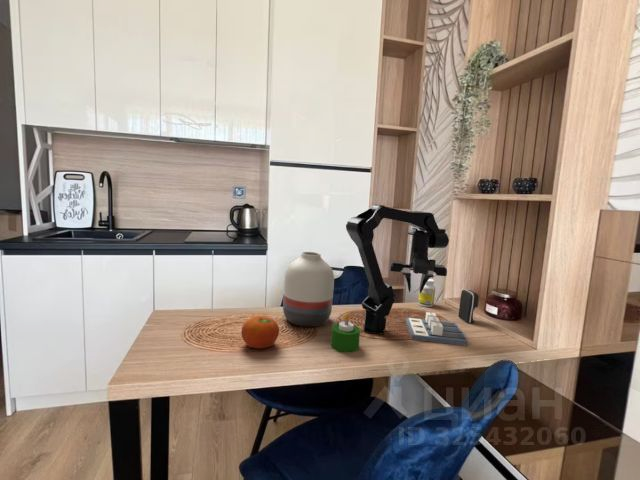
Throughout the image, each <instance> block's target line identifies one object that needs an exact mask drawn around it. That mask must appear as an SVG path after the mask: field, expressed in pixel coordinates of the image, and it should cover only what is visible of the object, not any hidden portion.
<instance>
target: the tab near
mask: <svg viewBox="0 0 640 480" xmlns="http://www.w3.org/2000/svg"><path fill="white" fill-rule="evenodd" d="M442 332H443V326H442V324H441V323H434V322H432V324H431V333H432V335H441V336H442Z"/></svg>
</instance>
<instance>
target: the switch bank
mask: <svg viewBox="0 0 640 480" xmlns="http://www.w3.org/2000/svg"><path fill="white" fill-rule="evenodd" d="M439 321H440V323H441V324H442V326H443V332H442V336H441V335H432V333H431V329H429V327H428V323H426V321H425V319H424V318H414V317H405V323H406V327H407V330H408V332H410V333H409V336H410V335H411V336H410V338H411V340H412V339H413V341H421V340H422V342H423V341H424V342H429V341H430V343H431V342H432V343H440V344H448V345H456V346H457V345H458V346H468V340H467V337H466V335H465V334H464V333H463V331H462V330H461V329H460V327H459V326H458V324H457V323H456V321H455V322H454V321H444V320H443V321H441V320H439Z"/></svg>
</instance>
